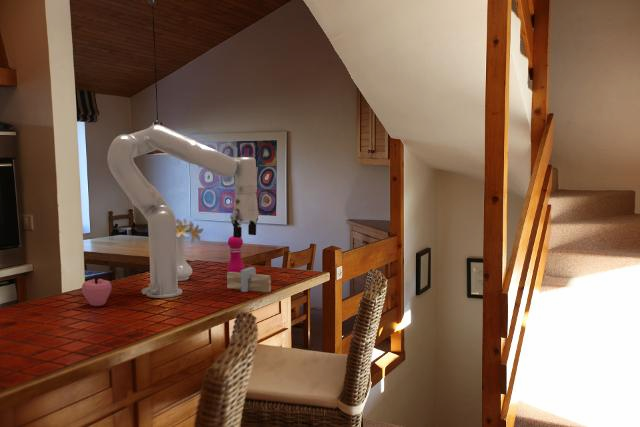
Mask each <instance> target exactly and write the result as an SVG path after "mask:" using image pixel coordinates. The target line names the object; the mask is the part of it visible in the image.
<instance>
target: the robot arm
mask: <svg viewBox="0 0 640 427" xmlns="http://www.w3.org/2000/svg"><path fill="white" fill-rule="evenodd" d="M107 151H108V152H107V159H106V160H107V166H108V169H109V171H110V172H111V174H112V176H113V177H114V179H115V181H117V183H118V185H119V186H120V188H121V190H123V192H124V193H125V195H127V197H128V199H129V201H130V202H131V204H132V205H133V206H134V207H136V208H137V209H138V210H139V212H140V213H141V214H142V215H143V217H144V218H145V219H146V221H147V229H148V230H147V232H148V250H149V251H148V253H149V274H150V279H149V280H150V282H149V283H148V287H145V288H142V289H141V293H142V294H143V295H146V296H147V297H149V298H154V299H163V298H164V299H166V298H174V297H178V296H180V295H182V294H183V289H182V288H178V286H179V284H178V282H179V281H178V280H177V250H176V219H177V218H176V215H175V212H174V211H173V210H172V208H171V207H170V205H169V204H168V203H167V201H165V199H164V198H163V196H162V195H161V193H160V192H159V191H158V190H157V188H156V187H155V186H154V185H153V184H151V183H150V182H149V181H148V180H147V179H146V177H145V176H144V175H143V173H142V172H141V170H140V169H139V168H138V166H137V165H136V163H135V161H134V158H135V157H136V158H137V157H139V156H143V155H145V154H148V153H151V152H154V151H160V152H163V153H164V154H168V155H169V156H172V157H174V158H175V159H178V160H179V161H183V162H186V163H188V164H190V165H191V164H192V165H196V166H199V167H201V168H203V169H205V170H208V171H209V172H212V173H215V174H217V175H218V176H220V177H223V178H229V177H233V176H235V177H234V179H235V180H234V181H235V182H234V185H235V187H234V189H235V190H234V200H233V212H232V214H230V215H229V217H230V220H231V224H232V227H233V233H232V236H233V237H235V238H243V236H242V234H243V232H242V231H243V230H242V224H243V222H244V223H245V222H248V223H249V224H248V228H247V230H248V231H247V233H248V235H249V236H256V235H257V225H258V220H259V216H260V212H259V210H258V209H259V207H258V205H259V204H258V198H257V193H256V192H257V190H256V187H257V186H256V180H257V179H256V178H257V175H256V174H257V173H256V172H257V169H256V168H257V166H256V165H257V162H256V158H254V157H252V156H250V157H249V156H246V157H245V156H244V157H243V156H241V157H232V156H229V155H228V154H225V153H223V152H220V151H219V150H217V149H214V148H212V147H210V146H207V145H205V144H203V143H201V142H199V140H198V141H197V140H195V139H193V138H191V137H189V136H186V135H184V134H182V133H180V132H177V131H175V130H173V129H171V128H169V127H166V126H164V125H161V124H152V125H151V126H149V127H148V128H146V129H142V130H139V131H136V132H132V133H130V134H125V133H123V134H119V135H118V136H116V137H115V138H114V139H113V140H112V142H111V144H110V145H109V148H108V150H107Z"/></svg>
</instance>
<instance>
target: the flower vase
mask: <svg viewBox="0 0 640 427" xmlns="http://www.w3.org/2000/svg"><path fill="white" fill-rule="evenodd" d="M194 225H195V224H194V222H192V220H191V219H189V222H188V220H187V219H186V218H183V221H182V220H180V219H179V218H176V250H177V280H178V282H182V281H183V282H184V281H188V280H189V277H190V276H191V275H192V274H193V268H192V266H191V265H190V264H189V263H188V262H187V260H186V256H185V248H184V240H185V237H186V238H187V237H189V234H190V236H191V241H190V242H191V243H192V244H193V243H194V242H195V240H197V241H199V242H200V241H201V236H200V235H199V234H201V233H203V231H204V228H199V224H196V226H194Z"/></svg>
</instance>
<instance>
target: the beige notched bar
mask: <svg viewBox="0 0 640 427" xmlns="http://www.w3.org/2000/svg"><path fill="white" fill-rule="evenodd" d="M271 277H272V276H271V274H269V275H268V274H257V273H256V274H252V275H251V283H249V282H248V292H250V291H251V292H260V293H266V294H267V293H270V292H272V286H271V285H272V284H271V283H272V280H271ZM226 286H227V289H232V290H240V291H241V273H239V272H227V271H226Z"/></svg>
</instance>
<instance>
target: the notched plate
mask: <svg viewBox="0 0 640 427" xmlns="http://www.w3.org/2000/svg"><path fill="white" fill-rule="evenodd" d="M252 274H257V273H256V267H254V266H250V267H246V268H245V269H243V270H241V290H240V292H243V293H247V292H249V290H248V283H251V275H252Z"/></svg>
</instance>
